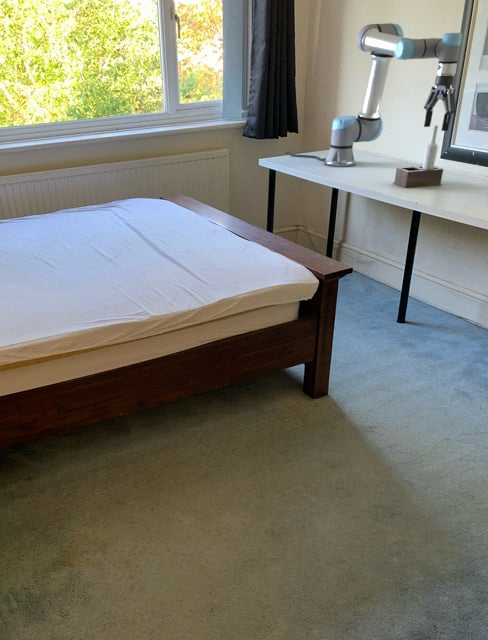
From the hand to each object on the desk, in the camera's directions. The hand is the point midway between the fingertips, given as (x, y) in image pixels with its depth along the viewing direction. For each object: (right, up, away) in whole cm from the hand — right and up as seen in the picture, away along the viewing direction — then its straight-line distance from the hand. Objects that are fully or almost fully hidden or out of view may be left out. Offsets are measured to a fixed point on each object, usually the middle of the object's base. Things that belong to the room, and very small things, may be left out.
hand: (435, 128), depth 265 cm
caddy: (-4, -21, +12) cm, 24 cm away
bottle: (0, -20, +13) cm, 24 cm away
